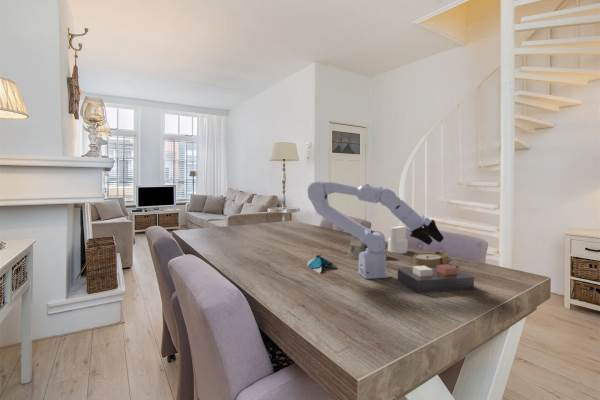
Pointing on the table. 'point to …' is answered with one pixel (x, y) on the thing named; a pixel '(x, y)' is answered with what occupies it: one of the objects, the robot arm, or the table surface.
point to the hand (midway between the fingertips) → (436, 241)
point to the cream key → (422, 271)
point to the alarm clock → (431, 259)
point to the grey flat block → (435, 281)
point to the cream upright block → (398, 240)
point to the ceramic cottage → (357, 247)
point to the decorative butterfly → (319, 263)
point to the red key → (446, 269)
